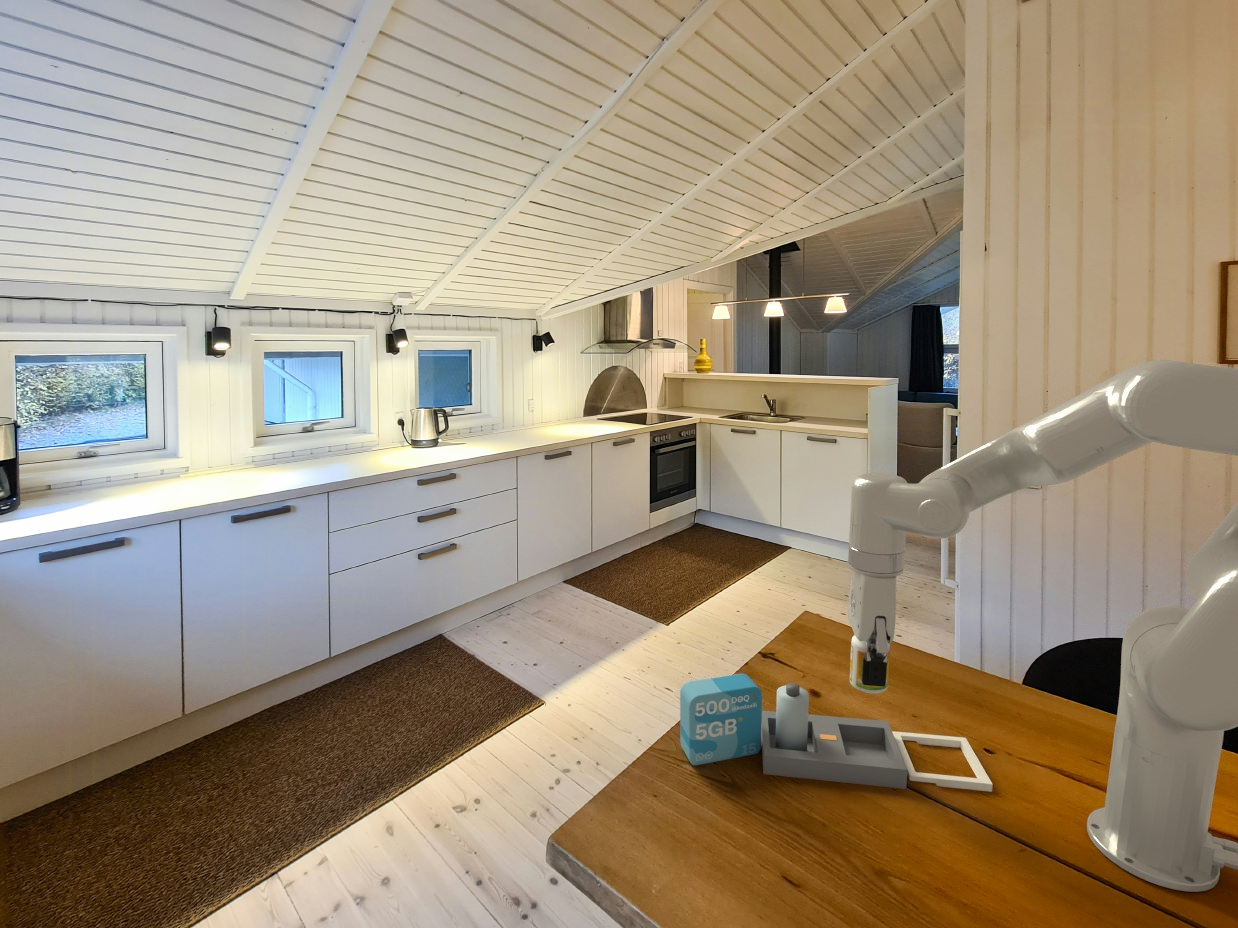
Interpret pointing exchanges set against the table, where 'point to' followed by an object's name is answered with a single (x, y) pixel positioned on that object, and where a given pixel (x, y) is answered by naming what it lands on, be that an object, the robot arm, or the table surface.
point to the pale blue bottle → (792, 717)
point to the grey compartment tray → (837, 752)
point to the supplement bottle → (857, 663)
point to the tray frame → (945, 780)
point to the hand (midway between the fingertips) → (869, 672)
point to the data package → (720, 718)
